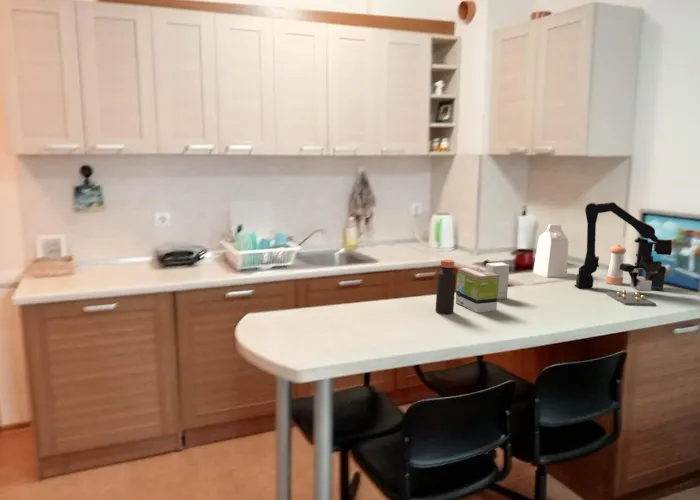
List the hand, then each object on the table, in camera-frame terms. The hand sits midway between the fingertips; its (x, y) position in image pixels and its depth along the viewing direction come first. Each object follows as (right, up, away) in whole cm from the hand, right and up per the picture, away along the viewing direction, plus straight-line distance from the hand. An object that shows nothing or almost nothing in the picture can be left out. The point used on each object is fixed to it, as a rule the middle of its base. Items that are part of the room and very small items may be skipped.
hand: (640, 286), depth 269 cm
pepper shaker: (-2, 0, +21) cm, 21 cm away
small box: (+13, -2, +14) cm, 19 cm away
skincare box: (-70, -4, -16) cm, 72 cm away
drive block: (0, -1, 0) cm, 1 cm away
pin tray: (-10, -5, -11) cm, 16 cm away
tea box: (-82, -6, -32) cm, 88 cm away
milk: (-29, +4, +37) cm, 47 cm away
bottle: (-96, -7, -42) cm, 105 cm away
